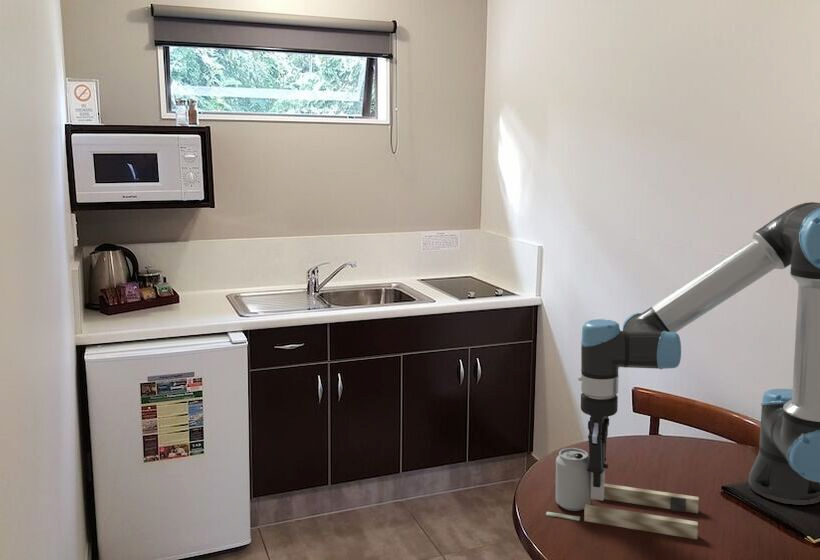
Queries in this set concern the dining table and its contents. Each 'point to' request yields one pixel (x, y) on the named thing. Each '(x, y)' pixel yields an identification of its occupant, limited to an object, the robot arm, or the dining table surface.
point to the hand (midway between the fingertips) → (597, 498)
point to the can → (573, 479)
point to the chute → (641, 519)
